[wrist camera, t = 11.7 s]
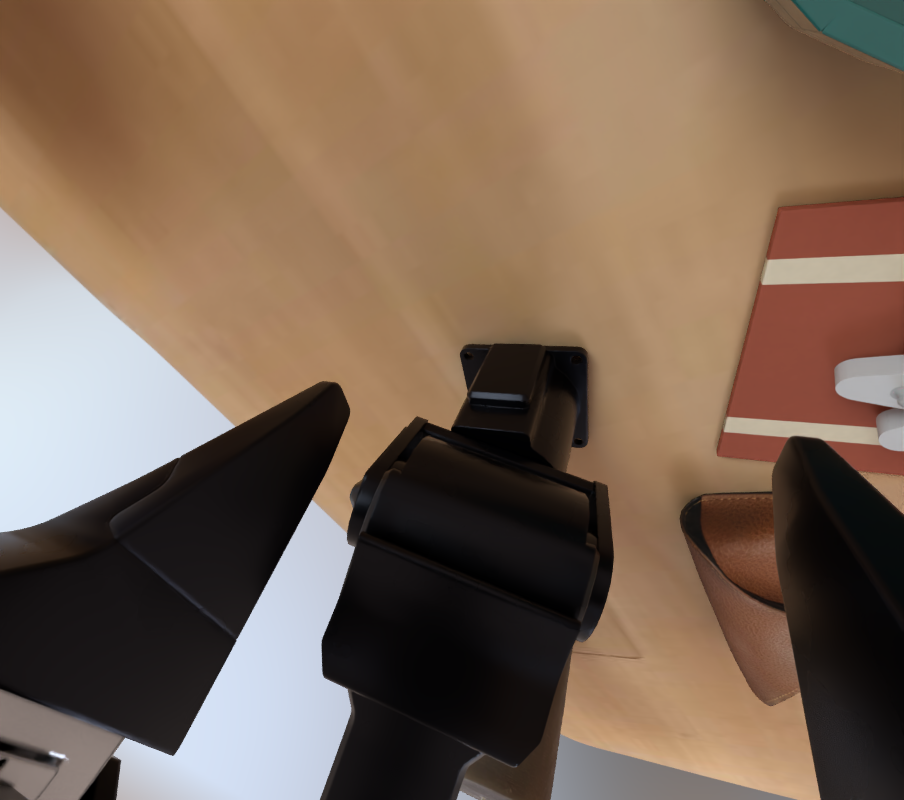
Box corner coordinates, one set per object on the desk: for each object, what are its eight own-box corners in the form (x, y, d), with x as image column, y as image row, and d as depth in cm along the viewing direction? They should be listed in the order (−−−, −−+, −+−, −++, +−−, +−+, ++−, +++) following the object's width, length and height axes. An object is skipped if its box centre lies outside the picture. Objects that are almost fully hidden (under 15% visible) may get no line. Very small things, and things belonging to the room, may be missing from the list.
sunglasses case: (899, 674, 28) (856, 769, 26) (774, 612, 34) (731, 685, 32) (876, 490, 20) (812, 605, 18) (719, 452, 26) (657, 535, 24)
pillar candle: (546, 594, 38) (503, 818, 28) (590, 649, 42) (567, 863, 32) (458, 591, 44) (394, 776, 33) (504, 640, 48) (461, 818, 37)
